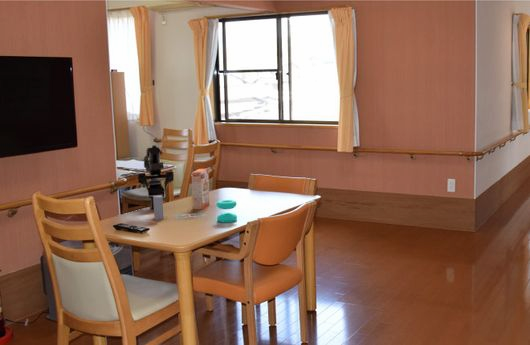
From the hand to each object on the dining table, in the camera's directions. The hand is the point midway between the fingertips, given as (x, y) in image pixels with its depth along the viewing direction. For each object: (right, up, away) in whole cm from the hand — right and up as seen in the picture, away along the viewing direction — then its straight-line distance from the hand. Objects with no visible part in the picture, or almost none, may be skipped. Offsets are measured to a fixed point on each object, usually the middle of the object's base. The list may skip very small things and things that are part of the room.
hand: (156, 189), depth 339 cm
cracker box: (+22, -11, +19) cm, 30 cm away
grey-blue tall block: (+2, -15, -8) cm, 17 cm away
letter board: (+18, -14, -4) cm, 23 cm away
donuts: (+38, -15, -17) cm, 44 cm away
